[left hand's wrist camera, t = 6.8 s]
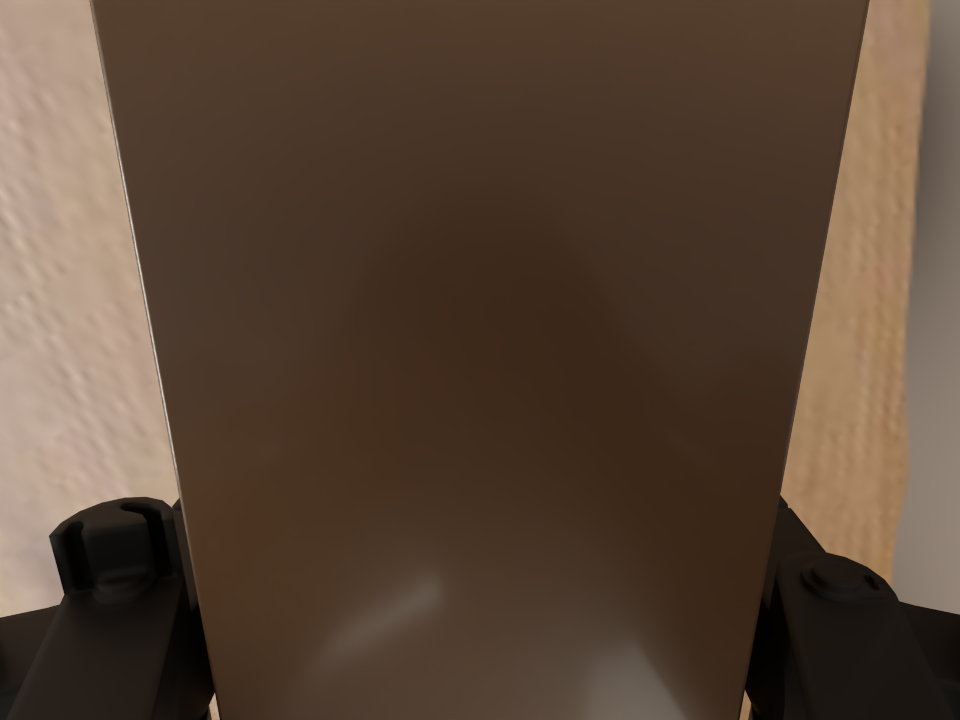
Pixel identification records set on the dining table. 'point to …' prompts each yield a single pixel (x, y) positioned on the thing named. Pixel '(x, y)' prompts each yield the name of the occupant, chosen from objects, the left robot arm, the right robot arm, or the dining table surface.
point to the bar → (479, 335)
